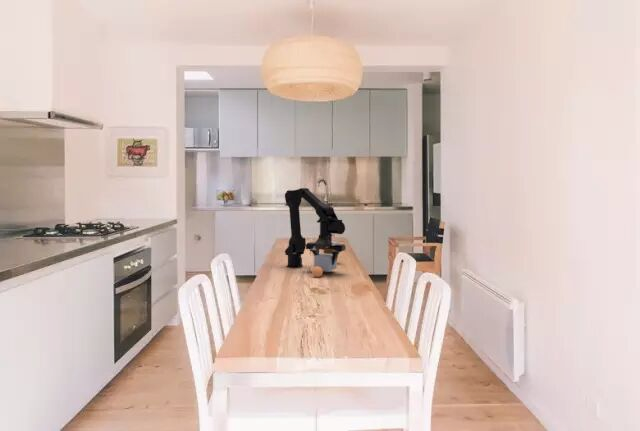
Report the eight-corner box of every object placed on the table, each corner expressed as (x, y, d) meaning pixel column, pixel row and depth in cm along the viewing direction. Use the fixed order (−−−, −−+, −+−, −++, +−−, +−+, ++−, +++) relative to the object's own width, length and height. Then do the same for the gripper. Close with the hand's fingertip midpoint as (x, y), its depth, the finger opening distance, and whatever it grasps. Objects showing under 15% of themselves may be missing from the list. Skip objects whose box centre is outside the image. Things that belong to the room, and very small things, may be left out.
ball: (313, 264, 233) (314, 274, 234) (310, 268, 228) (311, 278, 230) (323, 264, 231) (324, 274, 232) (320, 269, 226) (321, 279, 228)
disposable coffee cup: (339, 265, 261) (340, 242, 260) (321, 265, 261) (322, 242, 260) (339, 262, 271) (339, 240, 270) (322, 262, 271) (322, 240, 270)
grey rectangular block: (314, 270, 237) (314, 255, 237) (322, 267, 246) (322, 253, 246) (328, 271, 234) (329, 256, 234) (336, 268, 243) (336, 254, 243)
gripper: (301, 233, 235) (301, 265, 236) (337, 235, 228) (337, 268, 229) (310, 230, 245) (310, 261, 246) (346, 232, 238) (345, 264, 239)
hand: (325, 264), depth 240 cm, fingers closed on grey rectangular block, 8 cm apart
